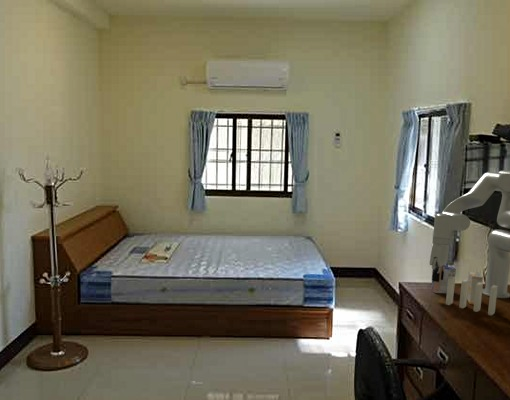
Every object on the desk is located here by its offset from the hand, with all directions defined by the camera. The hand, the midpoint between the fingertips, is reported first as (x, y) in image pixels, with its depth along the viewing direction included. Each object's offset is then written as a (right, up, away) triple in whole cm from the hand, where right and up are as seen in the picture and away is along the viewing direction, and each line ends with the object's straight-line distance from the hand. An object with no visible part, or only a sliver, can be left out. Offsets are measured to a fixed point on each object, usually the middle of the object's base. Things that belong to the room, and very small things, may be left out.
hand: (437, 279), depth 236 cm
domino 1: (0, -5, +1) cm, 5 cm away
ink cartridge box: (+8, -8, +15) cm, 19 cm away
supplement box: (+17, -11, +1) cm, 20 cm away
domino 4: (+14, -12, -10) cm, 21 cm away
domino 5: (+18, -12, -14) cm, 26 cm away
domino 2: (+4, -10, -3) cm, 11 cm away
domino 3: (+9, -11, -6) cm, 16 cm away
